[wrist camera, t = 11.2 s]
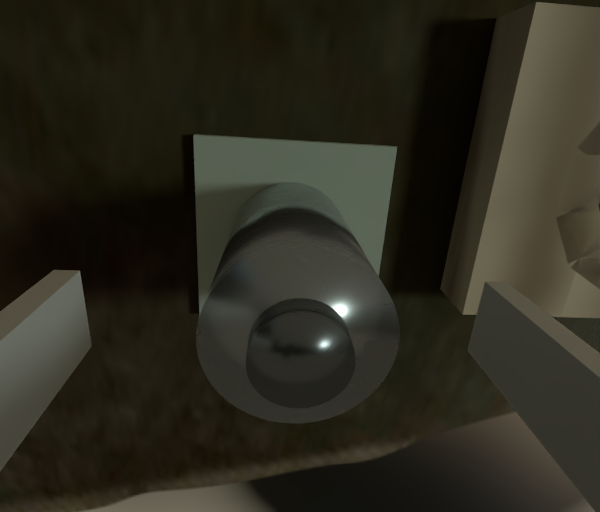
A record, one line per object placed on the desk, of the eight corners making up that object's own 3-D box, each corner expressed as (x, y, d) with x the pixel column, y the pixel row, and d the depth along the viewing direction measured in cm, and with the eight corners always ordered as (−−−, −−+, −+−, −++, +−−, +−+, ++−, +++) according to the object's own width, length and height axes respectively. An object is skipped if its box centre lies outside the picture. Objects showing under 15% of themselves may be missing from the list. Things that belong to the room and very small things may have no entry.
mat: (201, 312, 23) (199, 317, 22) (195, 134, 19) (193, 135, 19) (369, 317, 24) (371, 322, 23) (393, 146, 20) (397, 147, 20)
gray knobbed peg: (232, 287, 22) (192, 448, 11) (233, 179, 20) (184, 256, 9) (339, 291, 22) (393, 449, 12) (351, 185, 20) (428, 266, 10)
